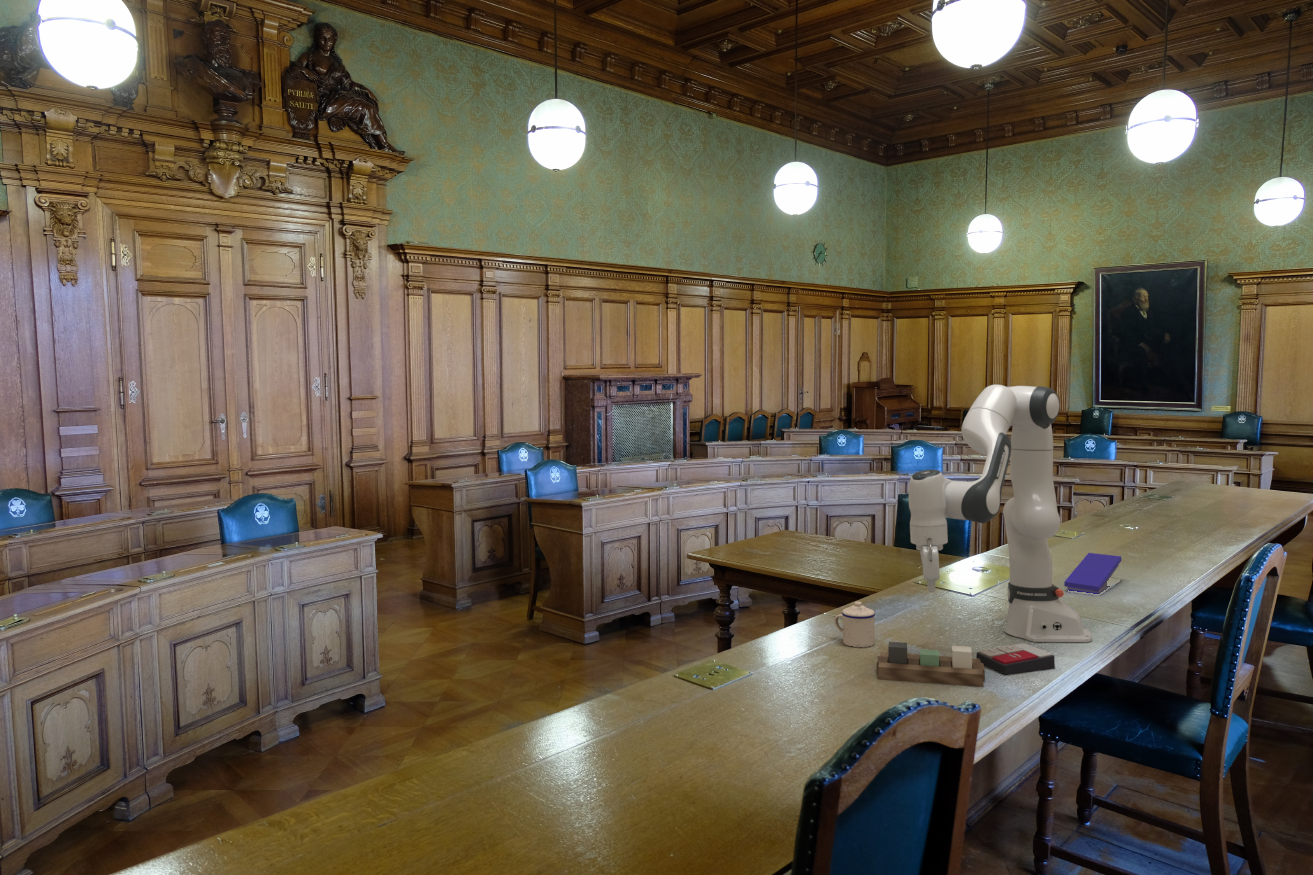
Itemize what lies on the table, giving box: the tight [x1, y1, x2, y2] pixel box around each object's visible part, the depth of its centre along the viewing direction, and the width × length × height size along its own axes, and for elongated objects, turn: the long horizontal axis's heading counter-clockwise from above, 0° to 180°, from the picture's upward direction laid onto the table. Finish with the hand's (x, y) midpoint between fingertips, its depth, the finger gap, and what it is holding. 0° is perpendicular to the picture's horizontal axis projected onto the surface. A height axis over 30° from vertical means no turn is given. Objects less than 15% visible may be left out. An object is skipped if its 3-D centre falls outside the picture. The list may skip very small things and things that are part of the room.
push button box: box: [975, 642, 1056, 676], centre depth 208 cm, size 11×4×15 cm
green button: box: [919, 648, 940, 667], centre depth 203 cm, size 4×4×5 cm
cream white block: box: [951, 645, 973, 669], centre depth 200 cm, size 4×4×5 cm
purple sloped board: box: [1063, 552, 1122, 594], centre depth 287 cm, size 12×28×10 cm, turn 137°
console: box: [876, 651, 986, 688], centre depth 203 cm, size 25×12×3 cm, turn 72°
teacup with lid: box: [834, 601, 876, 648], centre depth 231 cm, size 12×9×12 cm
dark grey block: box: [887, 641, 908, 664], centre depth 205 cm, size 4×4×5 cm
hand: (931, 590), depth 205 cm, fingers closed
